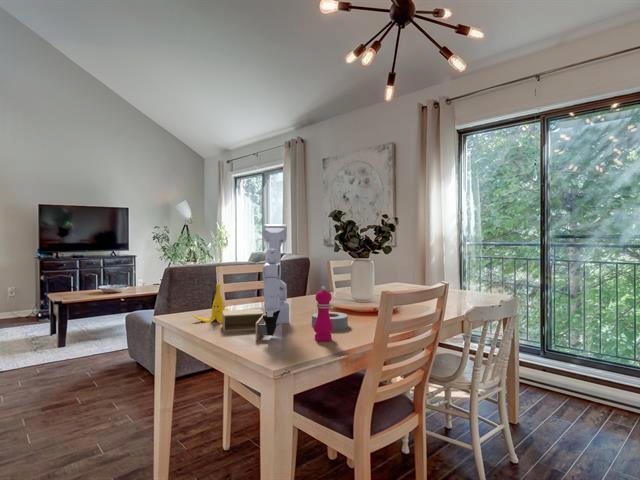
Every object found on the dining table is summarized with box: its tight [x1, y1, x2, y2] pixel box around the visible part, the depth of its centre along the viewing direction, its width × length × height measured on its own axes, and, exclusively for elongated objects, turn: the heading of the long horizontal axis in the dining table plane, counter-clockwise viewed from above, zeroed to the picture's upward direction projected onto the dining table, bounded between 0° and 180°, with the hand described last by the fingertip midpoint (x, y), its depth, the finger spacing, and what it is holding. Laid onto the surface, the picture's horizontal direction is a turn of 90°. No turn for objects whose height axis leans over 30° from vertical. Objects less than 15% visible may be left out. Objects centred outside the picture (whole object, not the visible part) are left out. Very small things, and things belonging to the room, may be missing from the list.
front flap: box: [255, 313, 274, 340], centre depth 152 cm, size 16×6×6 cm, turn 178°
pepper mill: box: [313, 285, 333, 343], centre depth 146 cm, size 7×7×20 cm
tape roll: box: [311, 311, 349, 332], centre depth 167 cm, size 15×15×5 cm
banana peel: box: [192, 283, 229, 324], centre depth 178 cm, size 17×19×17 cm
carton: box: [221, 308, 265, 333], centre depth 163 cm, size 16×10×7 cm, turn 107°
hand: (271, 332), depth 146 cm, fingers open, 7 cm apart
